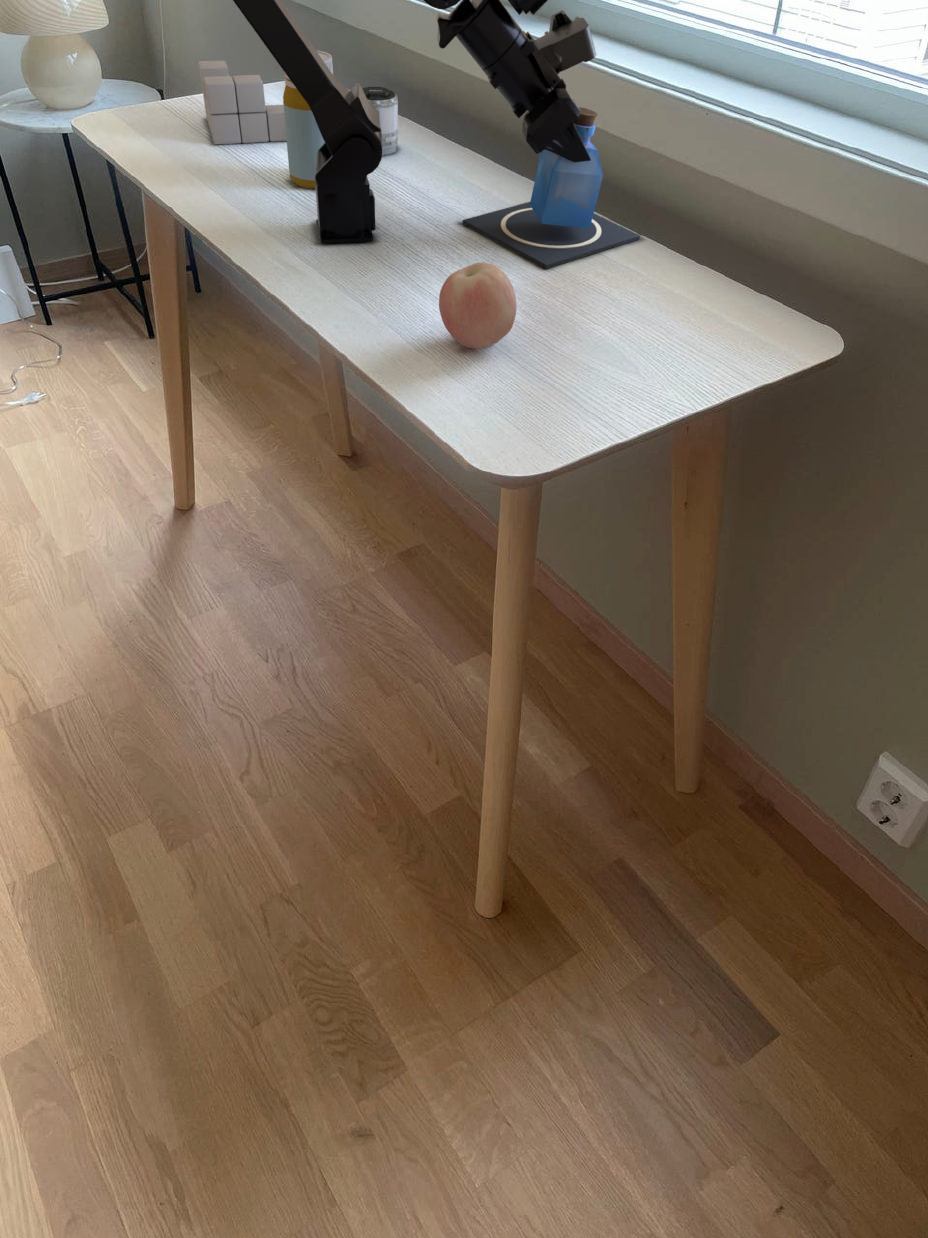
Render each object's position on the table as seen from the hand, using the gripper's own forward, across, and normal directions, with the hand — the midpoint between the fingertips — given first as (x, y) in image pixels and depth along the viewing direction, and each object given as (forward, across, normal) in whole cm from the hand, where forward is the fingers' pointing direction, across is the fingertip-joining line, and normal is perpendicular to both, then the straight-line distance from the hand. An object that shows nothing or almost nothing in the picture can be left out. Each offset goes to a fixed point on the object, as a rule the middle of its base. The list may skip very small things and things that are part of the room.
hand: (584, 157), depth 110 cm
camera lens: (-10, +31, +24) cm, 41 cm away
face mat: (+5, +1, +9) cm, 10 cm away
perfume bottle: (+3, 0, +7) cm, 7 cm away
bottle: (-16, +18, +30) cm, 39 cm away
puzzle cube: (-24, +38, +38) cm, 59 cm away
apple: (-4, -28, +17) cm, 33 cm away
